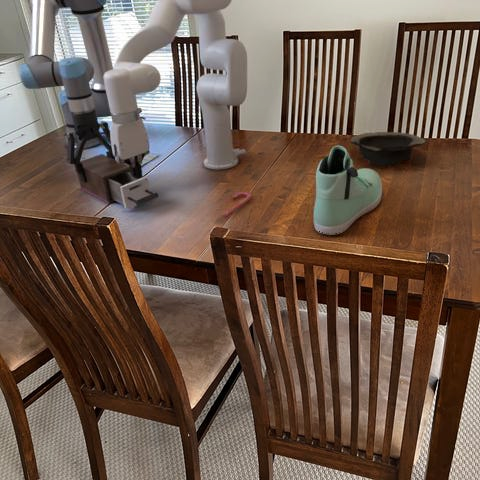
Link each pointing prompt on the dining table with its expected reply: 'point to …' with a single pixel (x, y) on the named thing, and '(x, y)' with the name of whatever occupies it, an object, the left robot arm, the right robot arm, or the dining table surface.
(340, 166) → the sneaker
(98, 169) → the taupe rectangular box
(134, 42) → the right robot arm
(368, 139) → the stone bowl
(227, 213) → the candy cane
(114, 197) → the drawer
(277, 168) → the dining table surface
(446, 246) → the dining table surface
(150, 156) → the baking ingredient package
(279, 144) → the dining table surface
